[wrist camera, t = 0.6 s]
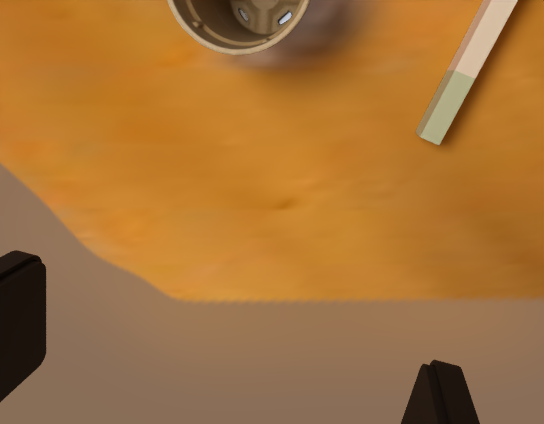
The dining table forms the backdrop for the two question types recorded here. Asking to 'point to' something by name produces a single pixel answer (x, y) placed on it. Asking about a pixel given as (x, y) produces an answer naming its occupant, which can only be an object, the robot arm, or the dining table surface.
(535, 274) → the dining table surface
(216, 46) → the flower pot
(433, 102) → the set of beige bars
